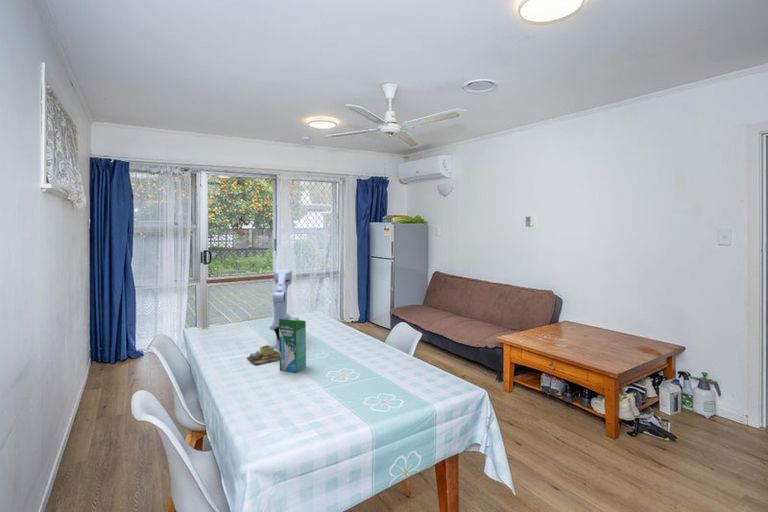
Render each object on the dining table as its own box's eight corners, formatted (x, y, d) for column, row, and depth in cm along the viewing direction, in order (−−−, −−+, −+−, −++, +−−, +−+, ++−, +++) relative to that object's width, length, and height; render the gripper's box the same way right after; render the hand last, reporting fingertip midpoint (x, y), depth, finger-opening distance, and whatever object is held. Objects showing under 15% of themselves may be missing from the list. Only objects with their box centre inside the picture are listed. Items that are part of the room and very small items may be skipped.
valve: (272, 354, 207) (272, 343, 206) (275, 356, 204) (275, 345, 203) (258, 357, 202) (258, 346, 202) (261, 359, 199) (261, 348, 198)
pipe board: (276, 352, 212) (276, 343, 212) (286, 359, 203) (286, 349, 203) (247, 358, 203) (246, 349, 202) (255, 365, 193) (255, 355, 193)
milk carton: (306, 366, 193) (305, 316, 191) (296, 373, 184) (295, 320, 182) (290, 364, 196) (289, 314, 194) (279, 370, 187) (278, 318, 185)
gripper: (281, 311, 214) (281, 335, 215) (264, 317, 200) (265, 343, 201) (292, 312, 211) (293, 337, 212) (276, 318, 198) (276, 345, 199)
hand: (280, 340), depth 207 cm, fingers closed
